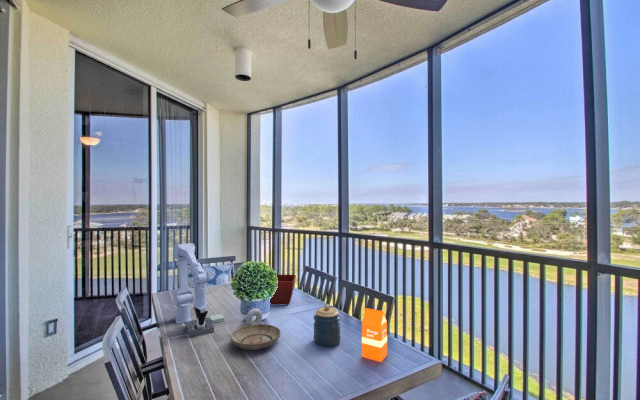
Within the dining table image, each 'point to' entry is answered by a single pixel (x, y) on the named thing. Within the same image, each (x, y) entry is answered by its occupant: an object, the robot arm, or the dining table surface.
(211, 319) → the pale green block
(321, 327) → the canister
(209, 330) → the hole plate
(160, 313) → the dining table surface
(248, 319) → the grey stone ring
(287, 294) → the plant pot
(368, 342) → the orange juice
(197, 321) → the barrel peg
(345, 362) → the dining table surface
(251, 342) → the brown shallow round bowl
